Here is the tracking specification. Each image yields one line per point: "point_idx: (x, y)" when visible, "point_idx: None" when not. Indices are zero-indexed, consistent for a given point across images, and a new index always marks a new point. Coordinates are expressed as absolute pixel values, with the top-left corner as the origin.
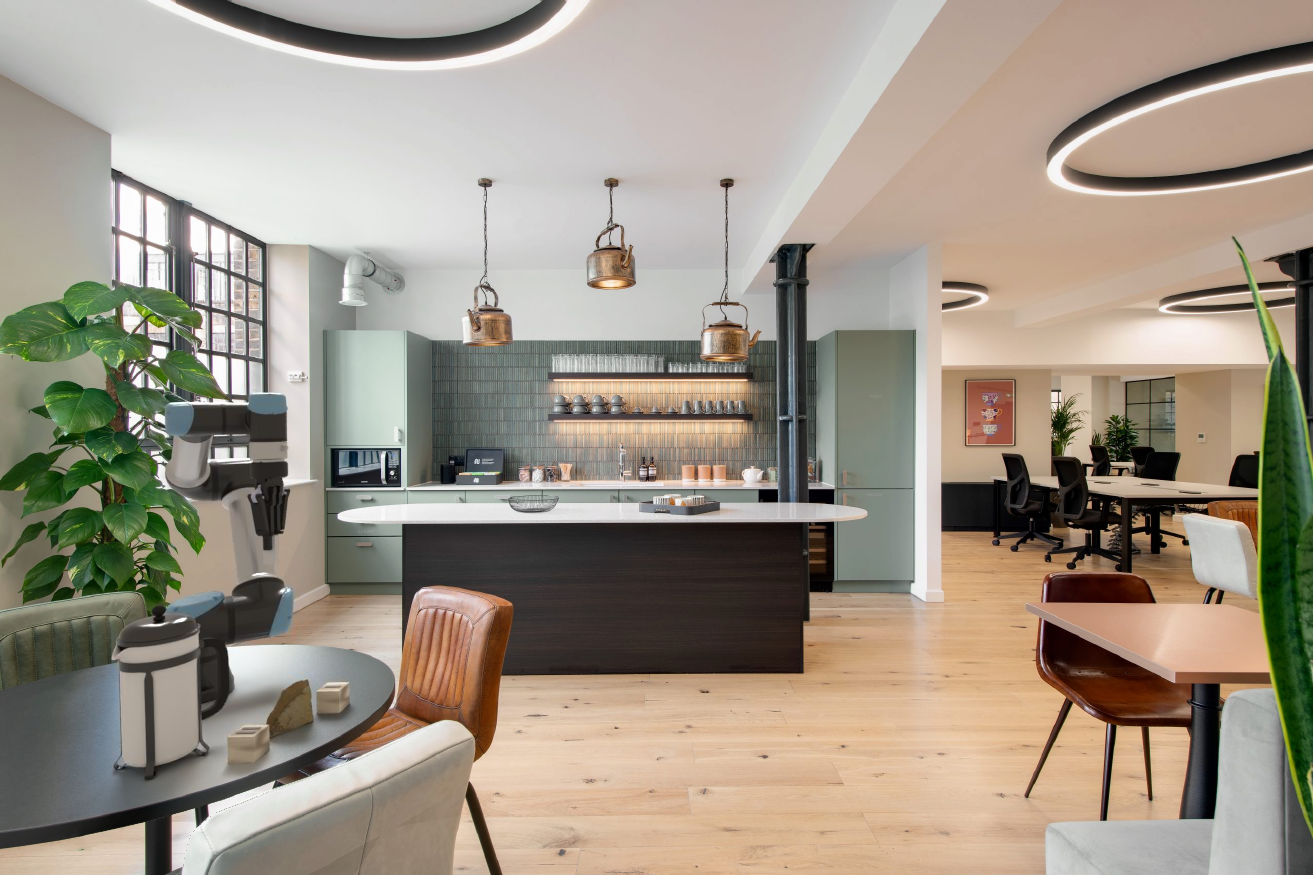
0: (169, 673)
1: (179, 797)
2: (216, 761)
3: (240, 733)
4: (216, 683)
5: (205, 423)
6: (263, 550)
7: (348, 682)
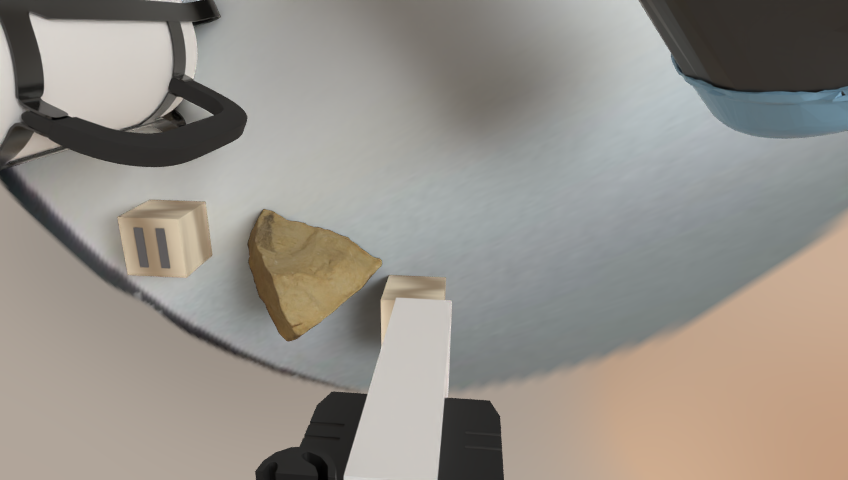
0: None
1: (23, 184)
2: (152, 171)
3: (135, 238)
4: None
5: None
6: (378, 364)
7: None
